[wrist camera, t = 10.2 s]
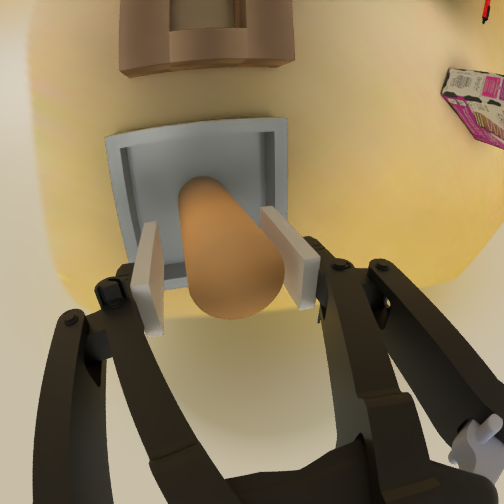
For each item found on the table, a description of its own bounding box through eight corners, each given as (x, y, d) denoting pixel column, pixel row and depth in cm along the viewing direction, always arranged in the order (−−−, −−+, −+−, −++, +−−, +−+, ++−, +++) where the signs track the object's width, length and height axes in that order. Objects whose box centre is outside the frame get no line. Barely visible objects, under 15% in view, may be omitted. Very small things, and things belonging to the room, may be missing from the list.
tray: (272, 116, 22) (287, 118, 19) (273, 252, 28) (285, 270, 25) (115, 133, 19) (104, 137, 16) (141, 272, 25) (138, 294, 22)
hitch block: (271, -26, 15) (287, -44, 12) (276, 67, 20) (294, 60, 16) (131, -21, 12) (124, -41, 9) (129, 77, 17) (119, 70, 14)
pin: (224, 173, 22) (285, 226, 11) (227, 219, 24) (284, 309, 13) (175, 179, 21) (180, 241, 10) (181, 226, 23) (196, 327, 12)
